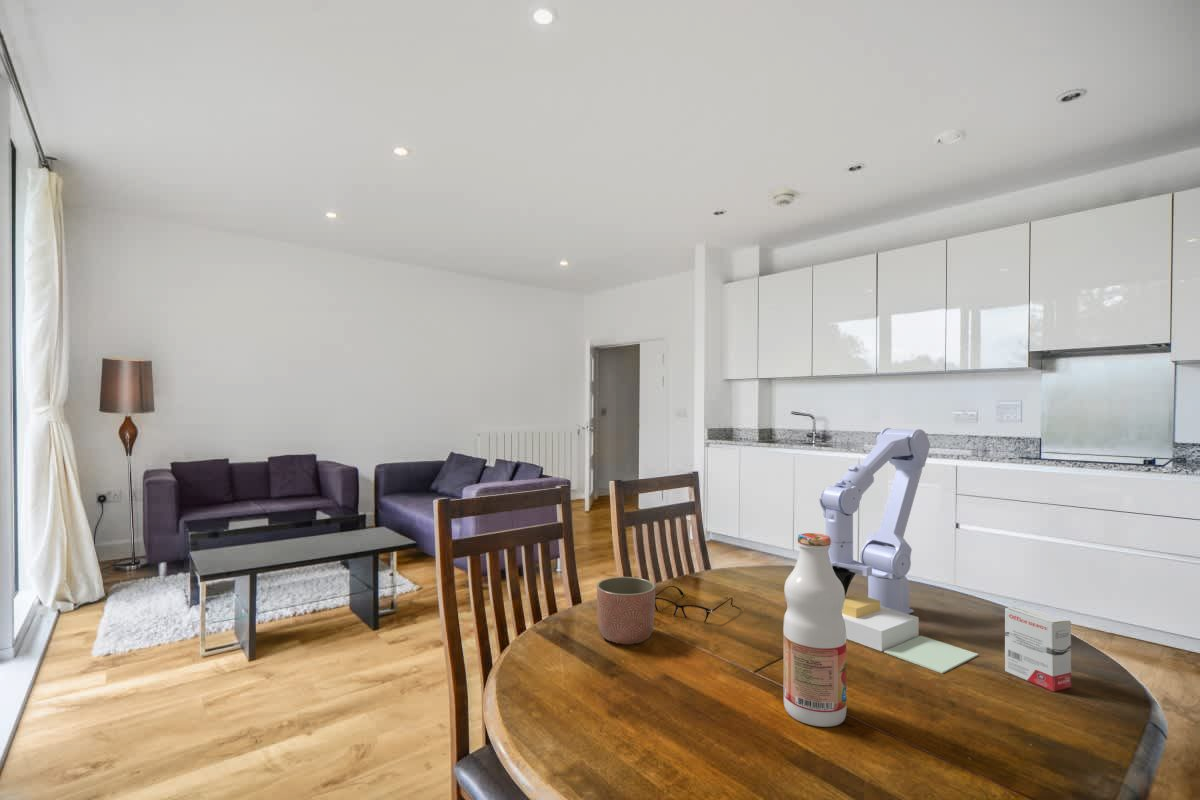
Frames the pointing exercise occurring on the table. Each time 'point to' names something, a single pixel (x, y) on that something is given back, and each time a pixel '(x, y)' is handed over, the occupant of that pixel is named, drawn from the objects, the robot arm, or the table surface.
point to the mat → (931, 654)
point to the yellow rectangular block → (859, 605)
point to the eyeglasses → (687, 605)
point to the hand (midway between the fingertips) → (839, 600)
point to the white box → (882, 628)
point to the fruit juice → (814, 637)
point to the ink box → (1038, 647)
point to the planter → (626, 609)
